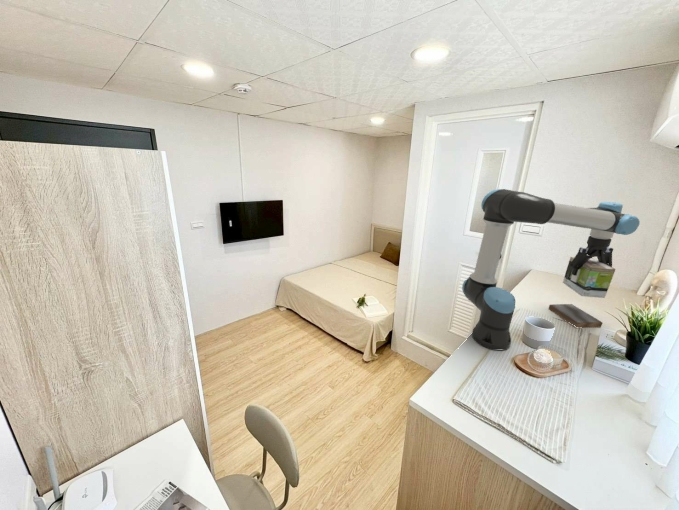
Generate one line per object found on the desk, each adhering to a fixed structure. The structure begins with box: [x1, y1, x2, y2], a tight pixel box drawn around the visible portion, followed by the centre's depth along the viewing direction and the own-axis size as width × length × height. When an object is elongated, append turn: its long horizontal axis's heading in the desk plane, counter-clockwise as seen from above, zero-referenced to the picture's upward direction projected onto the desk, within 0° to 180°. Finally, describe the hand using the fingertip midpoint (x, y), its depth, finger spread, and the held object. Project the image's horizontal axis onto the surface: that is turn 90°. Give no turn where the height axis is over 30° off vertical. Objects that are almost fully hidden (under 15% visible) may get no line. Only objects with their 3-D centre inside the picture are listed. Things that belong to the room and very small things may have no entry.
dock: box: [548, 303, 603, 329], centre depth 131 cm, size 12×17×3 cm
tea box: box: [562, 256, 616, 299], centre depth 124 cm, size 15×10×15 cm, turn 169°
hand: (585, 280), depth 125 cm, fingers closed on tea box, 11 cm apart
